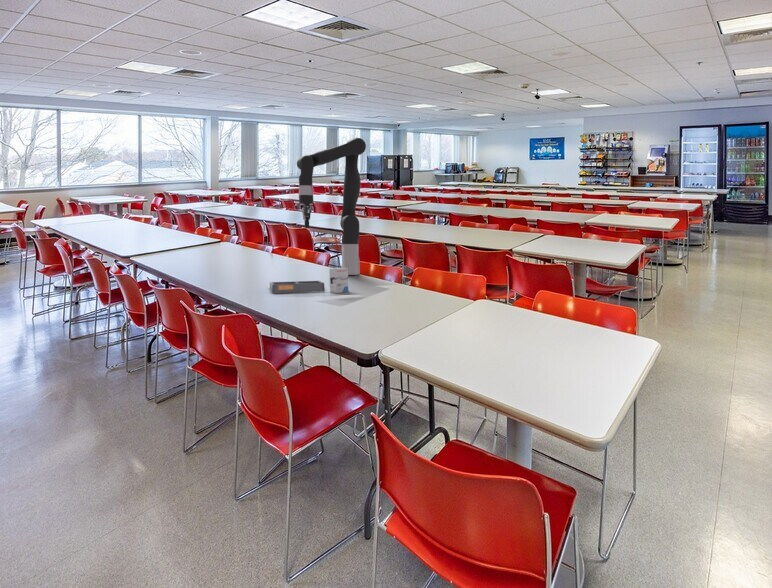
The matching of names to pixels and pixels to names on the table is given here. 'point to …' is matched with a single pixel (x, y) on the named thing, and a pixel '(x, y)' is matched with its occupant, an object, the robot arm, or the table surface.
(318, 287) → the tray
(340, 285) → the ink box
